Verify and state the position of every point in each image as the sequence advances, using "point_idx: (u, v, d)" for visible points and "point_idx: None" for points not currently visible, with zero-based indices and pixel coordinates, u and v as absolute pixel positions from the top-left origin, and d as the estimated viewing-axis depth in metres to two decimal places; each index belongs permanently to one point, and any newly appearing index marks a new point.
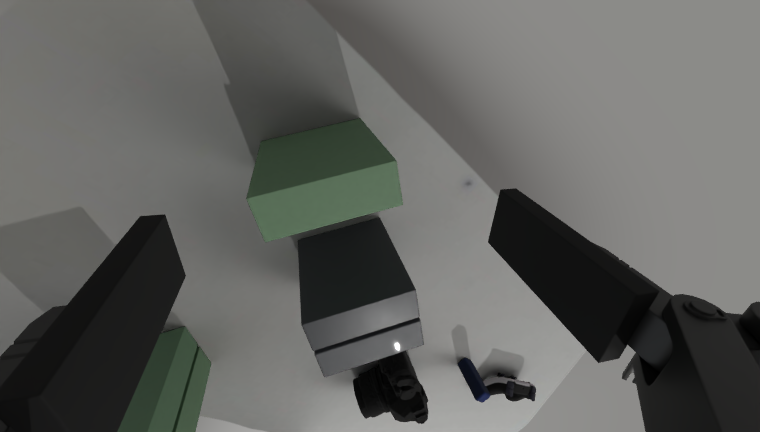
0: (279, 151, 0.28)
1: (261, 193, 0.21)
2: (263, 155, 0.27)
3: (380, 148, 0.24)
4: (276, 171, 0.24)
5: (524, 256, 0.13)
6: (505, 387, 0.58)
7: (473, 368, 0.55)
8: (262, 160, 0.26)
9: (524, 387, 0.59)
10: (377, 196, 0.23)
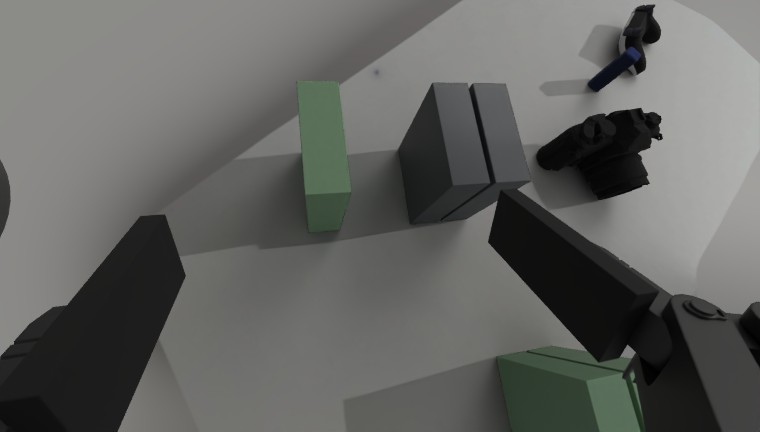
0: None
1: (304, 184, 0.25)
2: None
3: None
4: None
5: (524, 256, 0.13)
6: (631, 36, 0.50)
7: (600, 72, 0.49)
8: None
9: (634, 17, 0.52)
10: (326, 98, 0.27)
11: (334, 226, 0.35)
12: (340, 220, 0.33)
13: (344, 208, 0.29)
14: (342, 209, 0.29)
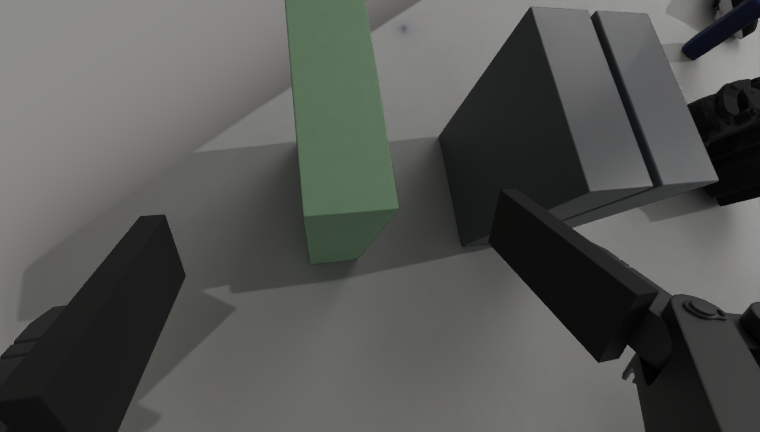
0: None
1: (301, 194, 0.12)
2: None
3: None
4: None
5: (524, 256, 0.13)
6: None
7: (702, 32, 0.36)
8: None
9: None
10: (342, 26, 0.14)
11: (350, 256, 0.22)
12: (362, 249, 0.20)
13: (375, 234, 0.16)
14: (371, 236, 0.16)
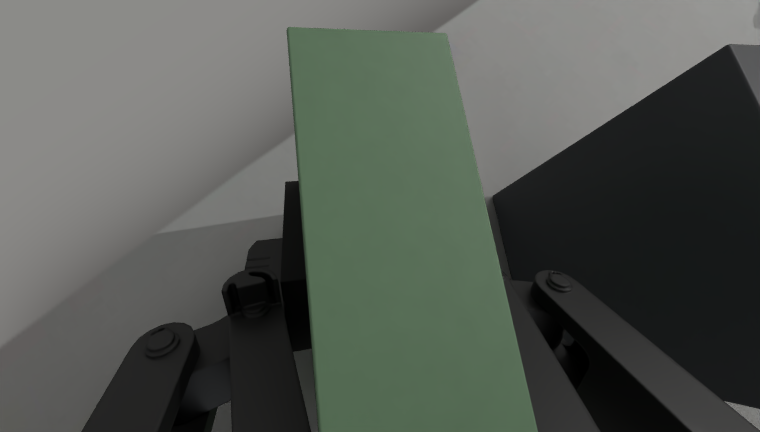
0: None
1: None
2: None
3: None
4: None
5: None
6: None
7: None
8: None
9: None
10: (408, 98, 0.07)
11: None
12: None
13: None
14: None
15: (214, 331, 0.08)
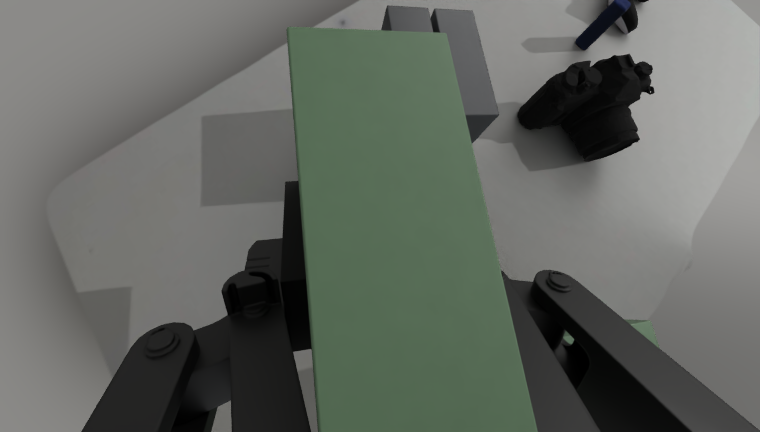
0: None
1: None
2: None
3: None
4: None
5: None
6: None
7: None
8: None
9: None
10: (408, 98, 0.07)
11: None
12: None
13: None
14: None
15: (214, 331, 0.08)
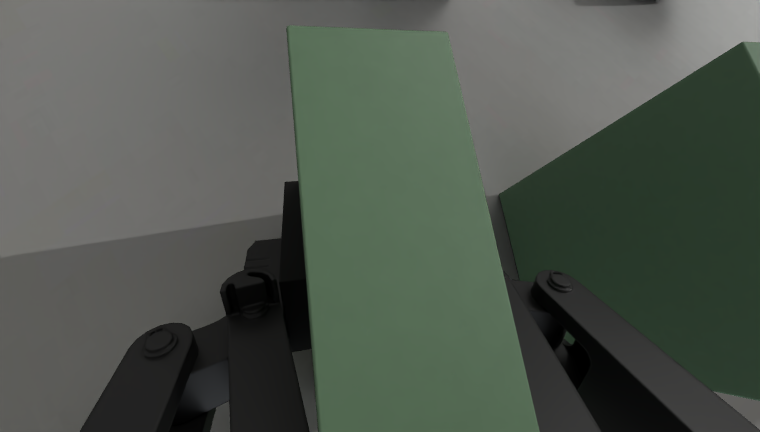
0: None
1: None
2: None
3: None
4: None
5: None
6: None
7: None
8: None
9: None
10: (409, 97, 0.07)
11: None
12: None
13: None
14: None
15: (213, 331, 0.08)
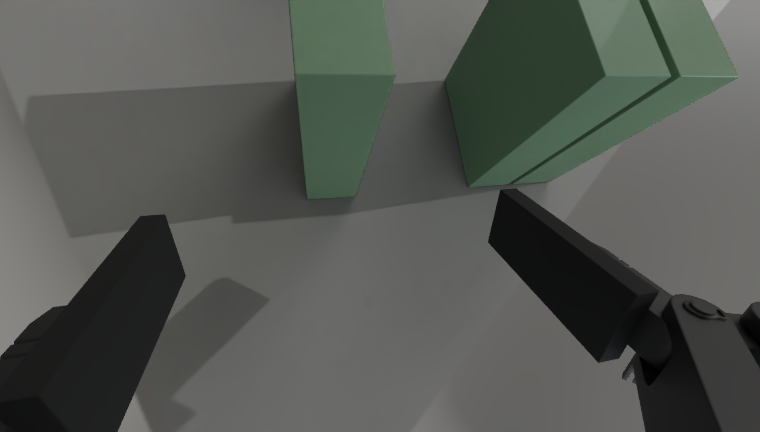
0: None
1: (293, 56, 0.11)
2: None
3: None
4: None
5: (524, 256, 0.13)
6: None
7: None
8: None
9: None
10: None
11: (348, 187, 0.22)
12: (360, 172, 0.19)
13: (372, 136, 0.15)
14: (368, 140, 0.16)
15: None
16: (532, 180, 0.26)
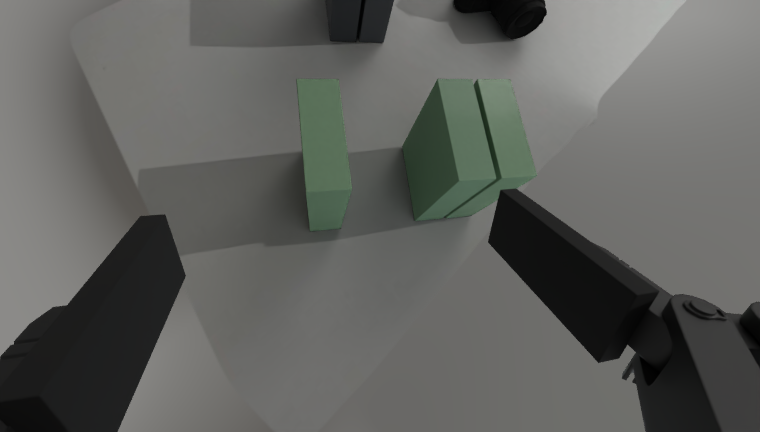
0: None
1: None
2: None
3: None
4: None
5: (524, 256, 0.13)
6: None
7: None
8: None
9: None
10: (326, 96, 0.27)
11: (335, 224, 0.35)
12: (341, 218, 0.33)
13: (345, 206, 0.29)
14: (343, 207, 0.29)
15: None
16: (457, 216, 0.40)
